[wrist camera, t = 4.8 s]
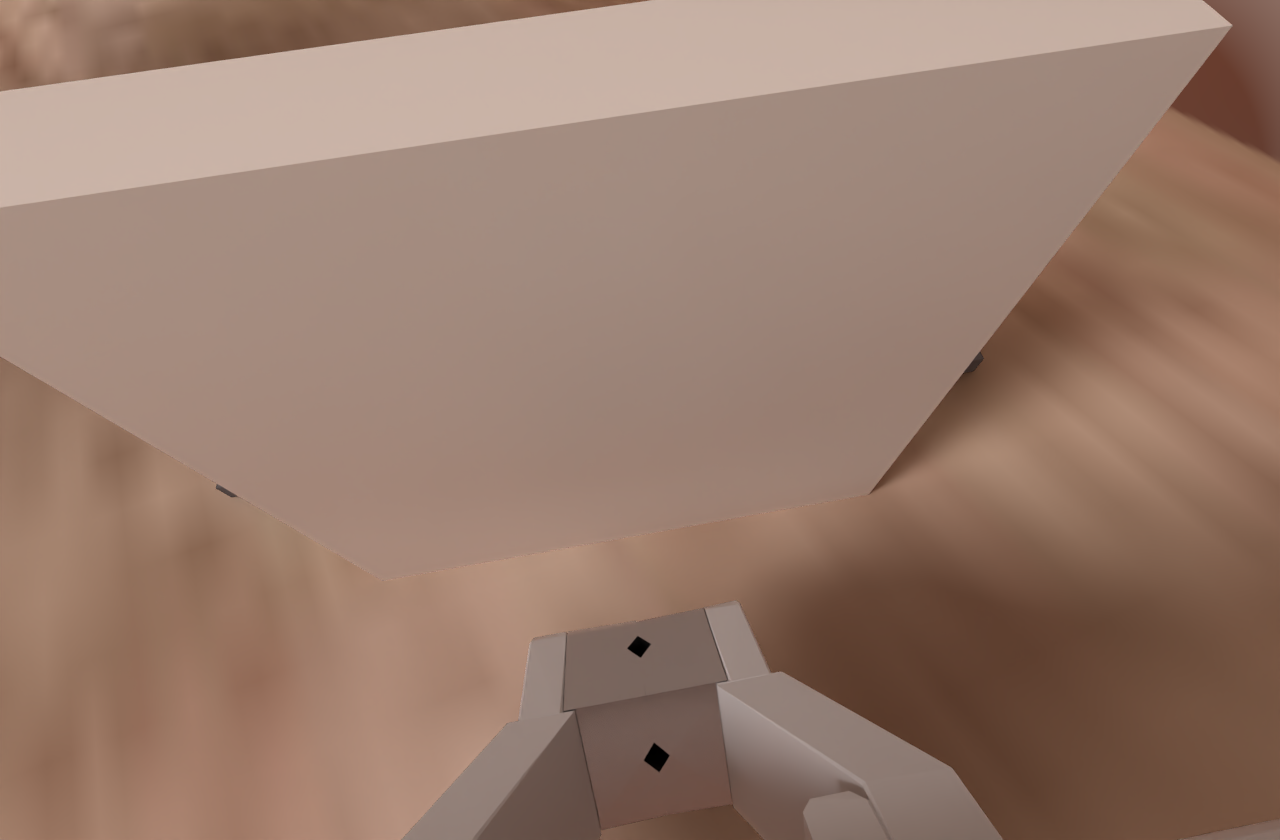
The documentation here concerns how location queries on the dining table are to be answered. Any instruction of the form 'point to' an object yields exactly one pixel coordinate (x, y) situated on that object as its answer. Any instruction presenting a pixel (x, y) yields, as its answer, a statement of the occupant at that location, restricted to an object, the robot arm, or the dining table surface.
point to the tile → (566, 253)
